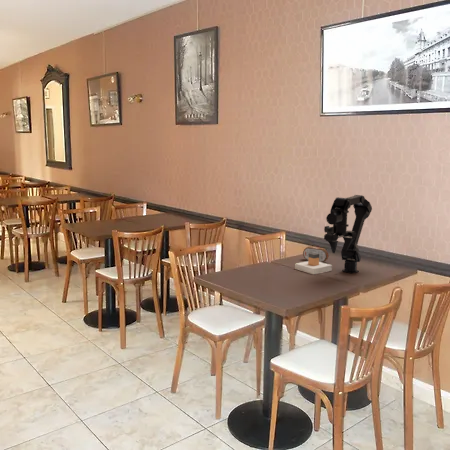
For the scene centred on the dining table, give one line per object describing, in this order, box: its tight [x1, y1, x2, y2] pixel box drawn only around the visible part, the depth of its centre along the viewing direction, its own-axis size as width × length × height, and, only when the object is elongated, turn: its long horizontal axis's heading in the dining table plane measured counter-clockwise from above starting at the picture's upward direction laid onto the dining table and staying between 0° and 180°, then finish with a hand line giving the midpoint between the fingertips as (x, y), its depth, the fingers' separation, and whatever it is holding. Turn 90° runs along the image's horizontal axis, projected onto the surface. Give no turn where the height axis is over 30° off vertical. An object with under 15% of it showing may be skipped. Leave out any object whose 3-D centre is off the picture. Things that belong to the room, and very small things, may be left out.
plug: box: [307, 253, 319, 266], centre depth 261 cm, size 4×4×9 cm
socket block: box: [294, 260, 333, 275], centre depth 262 cm, size 14×14×3 cm
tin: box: [302, 246, 329, 263], centre depth 280 cm, size 15×3×8 cm, turn 58°
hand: (339, 252), depth 247 cm, fingers open, 9 cm apart
